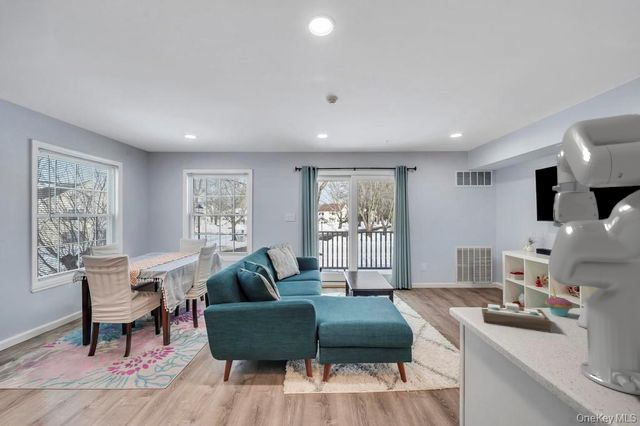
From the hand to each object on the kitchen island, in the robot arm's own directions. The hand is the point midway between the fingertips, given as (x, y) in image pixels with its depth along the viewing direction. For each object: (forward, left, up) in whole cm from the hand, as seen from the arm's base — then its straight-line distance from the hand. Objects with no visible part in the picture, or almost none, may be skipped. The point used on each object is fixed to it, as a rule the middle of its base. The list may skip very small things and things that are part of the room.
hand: (575, 244), depth 88 cm
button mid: (+14, +16, -28) cm, 35 cm away
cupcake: (+30, -2, -31) cm, 43 cm away
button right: (+13, +10, -29) cm, 34 cm away
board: (+12, +16, -31) cm, 37 cm away
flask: (+18, -8, -31) cm, 37 cm away
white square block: (+14, +22, -29) cm, 39 cm away
